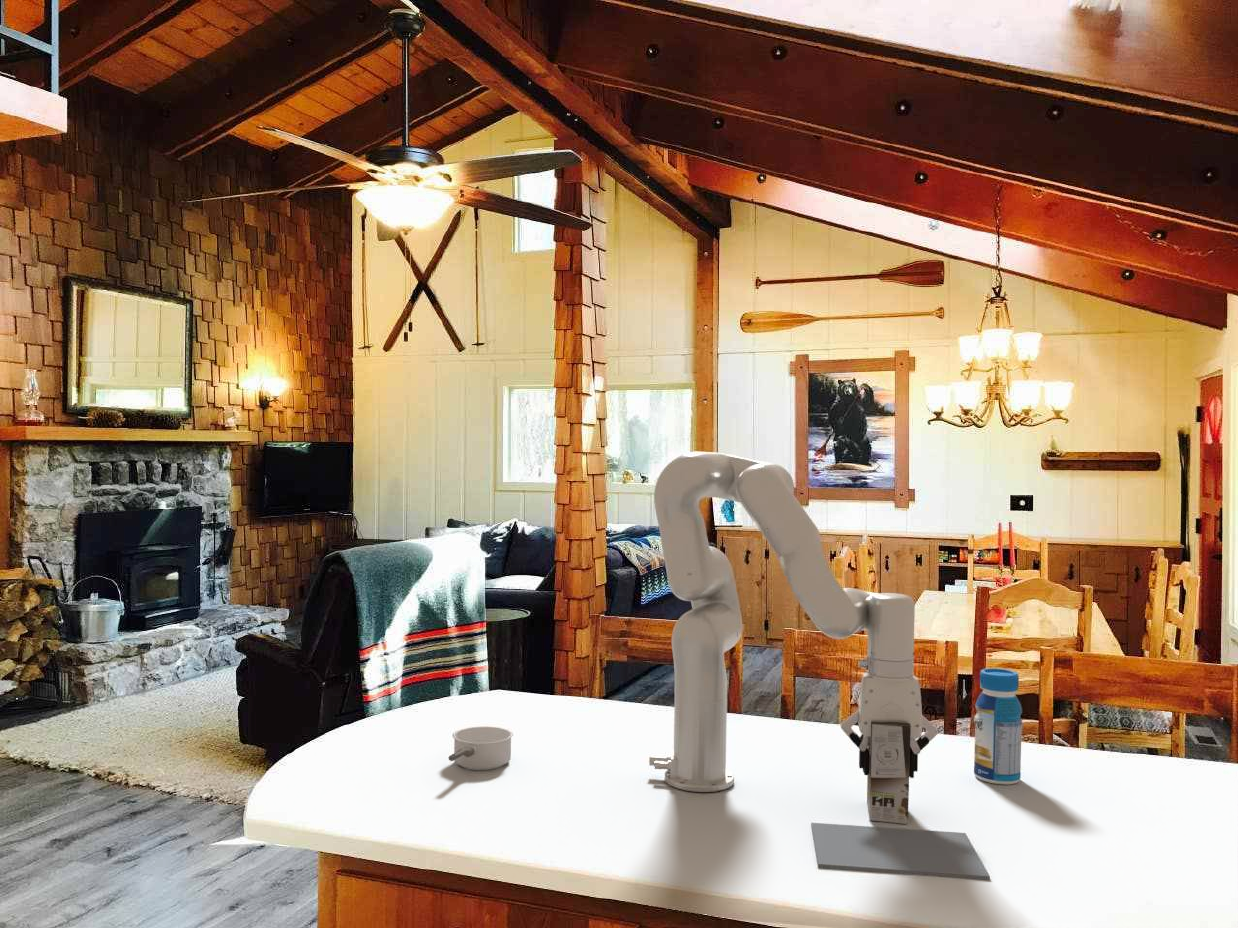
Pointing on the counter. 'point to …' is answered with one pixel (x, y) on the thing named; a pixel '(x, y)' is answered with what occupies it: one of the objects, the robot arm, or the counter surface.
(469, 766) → the saucepan
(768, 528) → the robot arm
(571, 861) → the counter surface
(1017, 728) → the beverage bottle
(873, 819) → the coffee box
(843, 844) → the slate mat
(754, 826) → the counter surface
